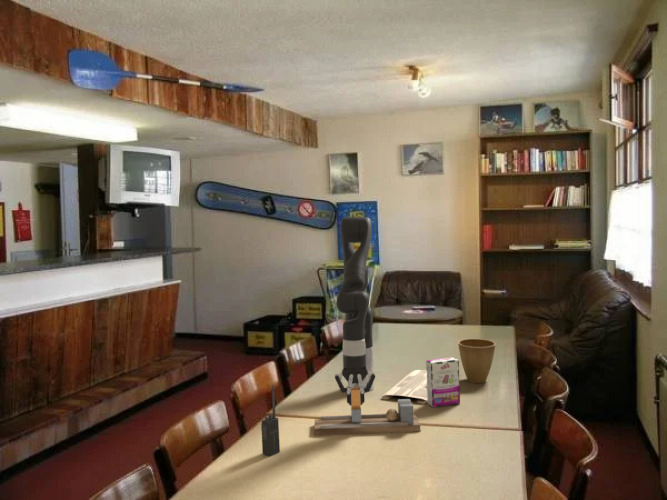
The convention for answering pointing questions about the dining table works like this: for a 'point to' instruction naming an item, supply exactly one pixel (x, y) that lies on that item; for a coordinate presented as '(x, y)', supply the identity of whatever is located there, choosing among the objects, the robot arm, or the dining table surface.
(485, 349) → the plant pot
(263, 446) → the walkie-talkie
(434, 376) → the candy bar box
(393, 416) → the smooth beige ball
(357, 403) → the sliding jaw
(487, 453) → the dining table surface
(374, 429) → the base
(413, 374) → the newspaper
